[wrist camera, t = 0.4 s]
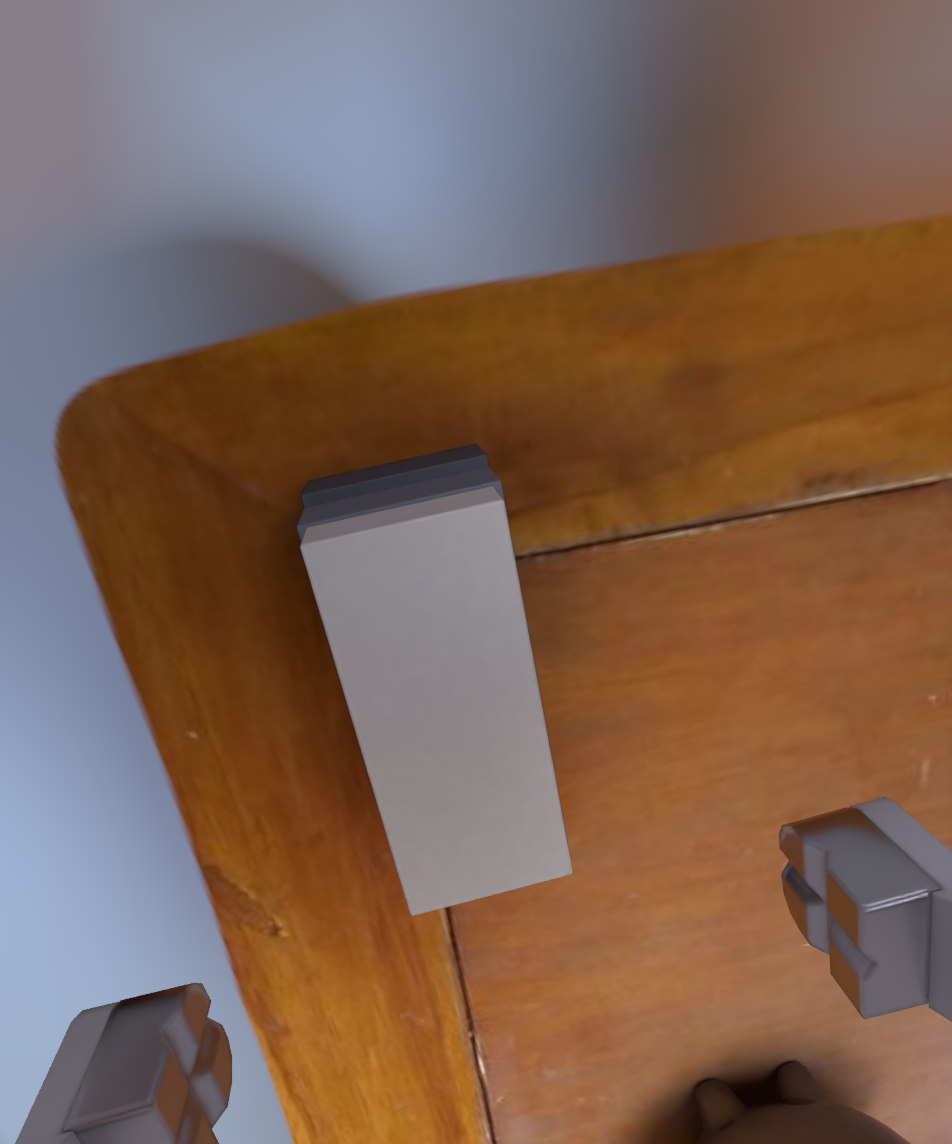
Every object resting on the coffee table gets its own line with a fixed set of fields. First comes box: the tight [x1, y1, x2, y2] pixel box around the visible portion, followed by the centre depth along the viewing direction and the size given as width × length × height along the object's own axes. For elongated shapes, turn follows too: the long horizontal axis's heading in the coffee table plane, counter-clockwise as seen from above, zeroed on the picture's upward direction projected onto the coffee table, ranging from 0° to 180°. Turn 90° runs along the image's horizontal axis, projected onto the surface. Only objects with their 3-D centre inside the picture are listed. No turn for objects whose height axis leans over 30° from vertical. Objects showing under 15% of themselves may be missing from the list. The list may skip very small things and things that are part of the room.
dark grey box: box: [297, 444, 568, 843], centre depth 24 cm, size 14×6×4 cm, turn 11°
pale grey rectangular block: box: [300, 487, 573, 916], centre depth 21 cm, size 13×6×2 cm, turn 11°
